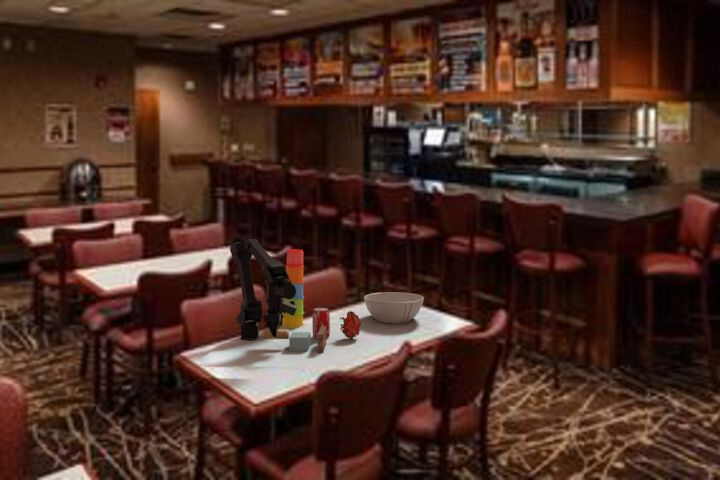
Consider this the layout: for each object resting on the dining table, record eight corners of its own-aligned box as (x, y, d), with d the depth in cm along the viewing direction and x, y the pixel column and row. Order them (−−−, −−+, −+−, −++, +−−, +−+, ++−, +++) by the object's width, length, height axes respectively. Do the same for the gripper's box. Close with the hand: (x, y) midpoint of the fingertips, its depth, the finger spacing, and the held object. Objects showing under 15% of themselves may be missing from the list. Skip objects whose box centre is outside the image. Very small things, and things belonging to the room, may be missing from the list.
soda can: (327, 340, 274) (327, 311, 273) (310, 339, 275) (310, 310, 274) (331, 336, 281) (331, 307, 280) (315, 335, 282) (314, 307, 281)
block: (289, 351, 257) (289, 337, 256) (292, 345, 266) (292, 332, 266) (307, 351, 257) (307, 337, 256) (310, 345, 266) (310, 332, 265)
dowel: (261, 339, 260) (261, 330, 260) (263, 337, 264) (263, 328, 263) (287, 340, 260) (287, 330, 259) (289, 337, 263) (288, 328, 263)
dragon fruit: (350, 335, 282) (350, 307, 281) (366, 338, 276) (366, 309, 275) (336, 339, 275) (336, 310, 274) (352, 342, 270) (352, 312, 269)
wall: (317, 352, 254) (317, 334, 254) (321, 343, 268) (321, 326, 267) (323, 352, 254) (322, 334, 253) (326, 343, 268) (326, 326, 267)
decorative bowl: (426, 330, 291) (426, 302, 290) (363, 330, 292) (363, 302, 291) (421, 317, 318) (421, 292, 317) (364, 317, 318) (364, 292, 317)
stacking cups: (287, 325, 301) (286, 248, 298) (308, 327, 297) (307, 249, 294) (276, 330, 292) (275, 250, 288) (297, 332, 288) (297, 251, 285)
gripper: (292, 300, 250) (292, 341, 252) (298, 291, 269) (299, 330, 270) (262, 300, 251) (263, 341, 252) (270, 291, 269) (271, 330, 271)
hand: (275, 335), depth 261 cm, fingers closed on dowel, 4 cm apart
